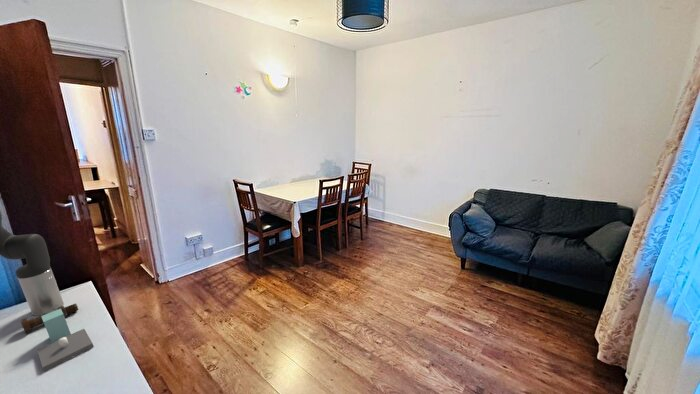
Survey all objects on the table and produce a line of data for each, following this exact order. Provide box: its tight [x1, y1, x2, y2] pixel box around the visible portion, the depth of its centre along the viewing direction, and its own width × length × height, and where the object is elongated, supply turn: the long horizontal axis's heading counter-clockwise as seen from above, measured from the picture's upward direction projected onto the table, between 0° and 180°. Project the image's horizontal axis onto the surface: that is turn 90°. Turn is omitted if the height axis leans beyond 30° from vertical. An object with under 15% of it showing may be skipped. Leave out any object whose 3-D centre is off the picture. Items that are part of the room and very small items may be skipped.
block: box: [40, 309, 72, 343], centre depth 102 cm, size 5×5×9 cm
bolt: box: [20, 303, 79, 335], centre depth 111 cm, size 6×5×15 cm
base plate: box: [36, 328, 94, 372], centre depth 96 cm, size 12×12×4 cm
